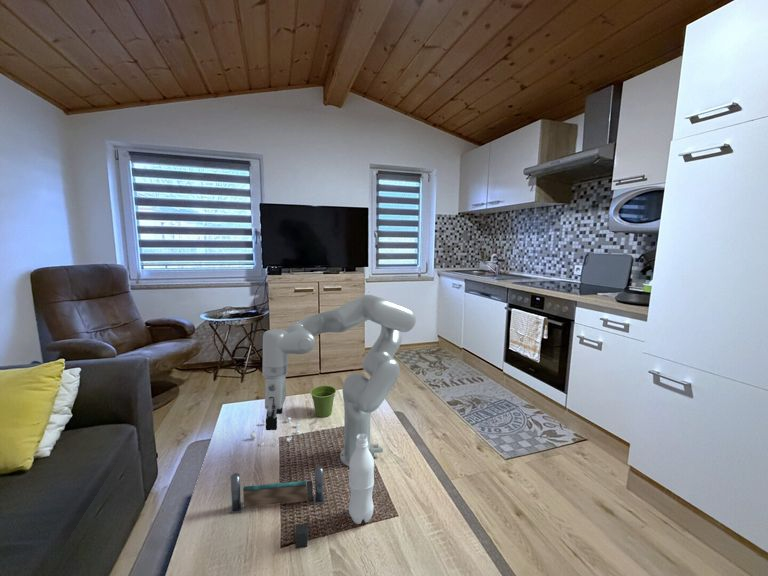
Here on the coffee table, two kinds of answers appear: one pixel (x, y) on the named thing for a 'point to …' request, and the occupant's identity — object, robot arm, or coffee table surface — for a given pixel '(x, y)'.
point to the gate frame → (301, 529)
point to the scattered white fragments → (275, 438)
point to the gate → (277, 493)
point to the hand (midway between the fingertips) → (274, 421)
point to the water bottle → (361, 481)
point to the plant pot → (323, 400)
